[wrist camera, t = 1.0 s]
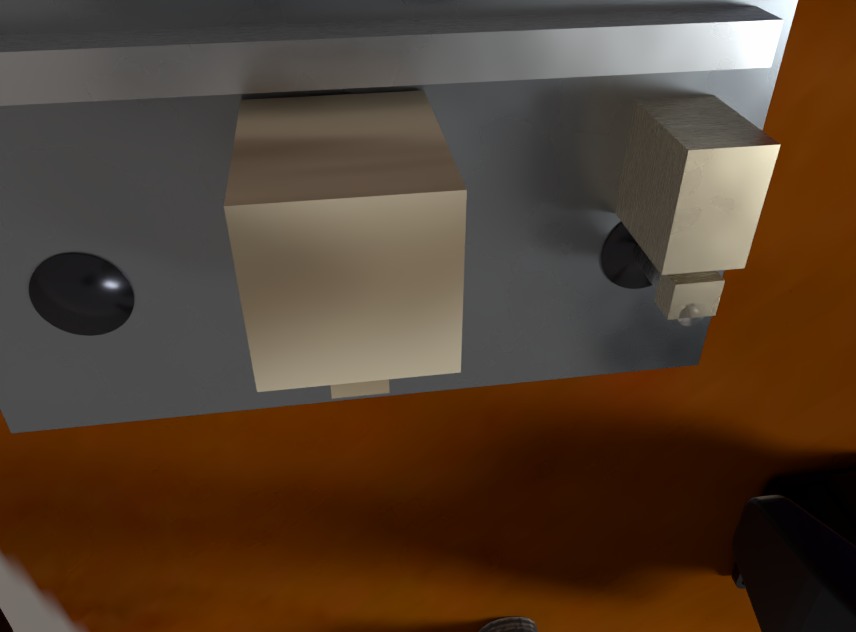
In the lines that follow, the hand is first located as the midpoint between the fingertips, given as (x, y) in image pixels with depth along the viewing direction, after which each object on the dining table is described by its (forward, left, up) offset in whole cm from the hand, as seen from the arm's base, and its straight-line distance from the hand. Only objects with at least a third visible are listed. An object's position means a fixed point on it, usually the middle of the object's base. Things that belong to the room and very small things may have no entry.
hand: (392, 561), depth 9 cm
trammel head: (-1, 0, -11) cm, 11 cm away
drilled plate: (0, 0, -12) cm, 12 cm away
